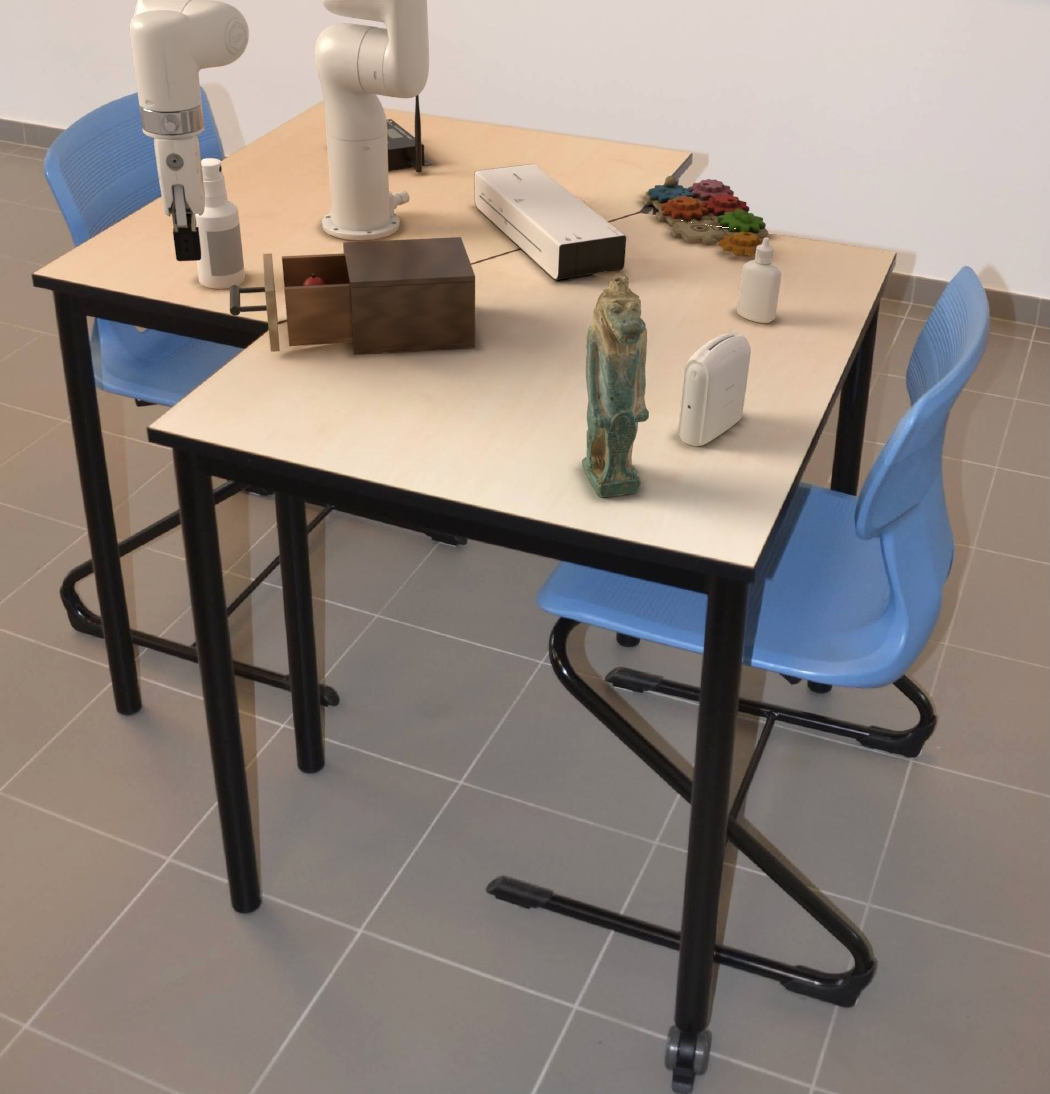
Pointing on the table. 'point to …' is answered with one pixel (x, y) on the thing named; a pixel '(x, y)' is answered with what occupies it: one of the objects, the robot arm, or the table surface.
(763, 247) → the eye dropper bottle
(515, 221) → the laminator
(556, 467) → the table surface
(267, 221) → the table surface
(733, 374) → the photo printer
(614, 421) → the statue
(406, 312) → the cabinet
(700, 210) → the gear puzzle
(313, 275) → the pear
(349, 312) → the drawer
